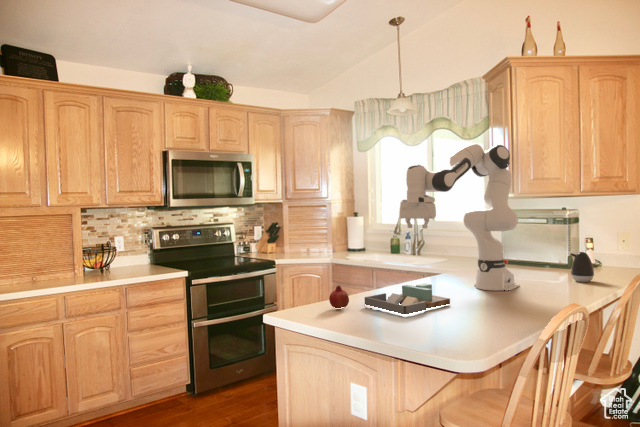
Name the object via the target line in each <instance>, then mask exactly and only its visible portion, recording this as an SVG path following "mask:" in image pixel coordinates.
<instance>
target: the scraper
mask: <svg viewBox="0 0 640 427" xmlns="http://www.w3.org/2000/svg"><path fill="white" fill-rule="evenodd" d="M401 292H402V293H401V294H402V296H405V297H407V296H409V297H414V298H417V299H419V300H424V301H430V300H432V295H433V285H432V284H431V283H421V284H416V285H410V284H405V285H401Z"/></svg>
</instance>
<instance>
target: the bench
mask: <svg viewBox="0 0 640 427" xmlns="http://www.w3.org/2000/svg"><path fill="white" fill-rule="evenodd" d="M399 295H401V296H402V293H401V294H399ZM389 297H390V296H387V299H388V298H389ZM402 297H403V299H402V301H401V302H400V304H402V302H403V301H404V300H405V299H406V297H405V296H402ZM417 300H418V301H419V302H424V300H419V299H417ZM419 302H418V303H419ZM425 302H426V308H431V307H436V306H441V305H446V304H450V305H451V298H450V297H444V296H438V295H433V294H432V300H430V301H425Z"/></svg>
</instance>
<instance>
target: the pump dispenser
mask: <svg viewBox="0 0 640 427" xmlns="http://www.w3.org/2000/svg"><path fill="white" fill-rule="evenodd" d="M569 255H570V256H572V257H574V258H573V260H572V264H571V270H570V274H571V277H572V279H573V280H574V281H575V282H578V283H589V282H591V281H592V280H593V278H594V276H595V269H594V266H593V262H592V260H591V258H590V257H589V255H588V254H587V253H586V252H584V251H579V252H577V253H576V254H575V253H573V252H570V253H569Z"/></svg>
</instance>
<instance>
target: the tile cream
mask: <svg viewBox="0 0 640 427" xmlns="http://www.w3.org/2000/svg"><path fill="white" fill-rule="evenodd" d="M418 302H419V301H418V300H417V298H414V297H409V296H407V297H406V299H405V300H404V301H403V302H402V304H401V305H404V306H406V305H410V304H415V303H418Z"/></svg>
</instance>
